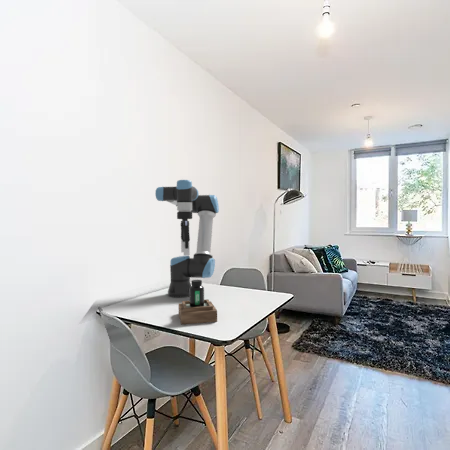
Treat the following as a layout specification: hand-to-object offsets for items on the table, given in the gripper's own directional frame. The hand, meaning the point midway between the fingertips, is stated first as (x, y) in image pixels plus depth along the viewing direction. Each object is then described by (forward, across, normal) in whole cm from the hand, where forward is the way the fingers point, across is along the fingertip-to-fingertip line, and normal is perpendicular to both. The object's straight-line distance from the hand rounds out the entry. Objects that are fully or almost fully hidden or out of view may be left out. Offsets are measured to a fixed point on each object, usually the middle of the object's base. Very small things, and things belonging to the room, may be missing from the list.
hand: (185, 253), depth 158 cm
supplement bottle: (+24, +12, +4) cm, 27 cm away
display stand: (+29, +12, +4) cm, 31 cm away
